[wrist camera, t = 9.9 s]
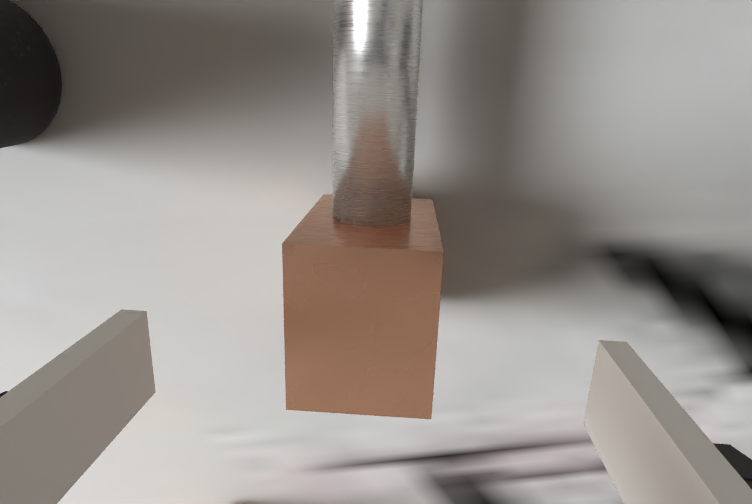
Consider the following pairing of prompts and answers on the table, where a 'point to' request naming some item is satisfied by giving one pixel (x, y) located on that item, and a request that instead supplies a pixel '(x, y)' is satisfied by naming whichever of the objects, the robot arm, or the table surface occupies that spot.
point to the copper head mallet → (367, 236)
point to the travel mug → (25, 77)
